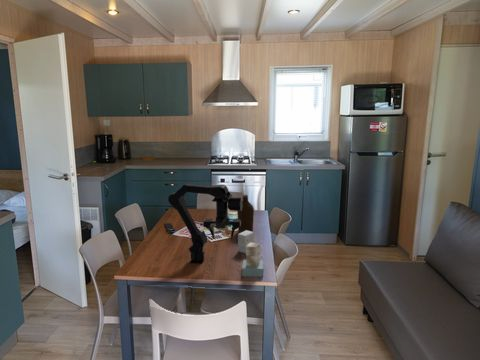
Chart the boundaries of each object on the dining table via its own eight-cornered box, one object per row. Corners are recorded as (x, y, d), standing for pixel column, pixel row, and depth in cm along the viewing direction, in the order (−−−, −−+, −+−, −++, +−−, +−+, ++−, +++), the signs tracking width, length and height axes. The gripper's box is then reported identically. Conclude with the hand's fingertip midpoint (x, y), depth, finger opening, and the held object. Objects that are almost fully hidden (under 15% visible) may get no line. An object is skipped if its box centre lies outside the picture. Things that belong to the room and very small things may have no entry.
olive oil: (244, 236, 216) (244, 198, 211) (234, 232, 224) (233, 195, 219) (257, 232, 222) (257, 195, 218) (246, 228, 231) (246, 192, 226)
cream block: (246, 265, 165) (246, 245, 163) (250, 261, 170) (250, 242, 168) (255, 267, 163) (255, 247, 161) (259, 263, 168) (259, 243, 166)
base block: (242, 276, 163) (242, 268, 162) (243, 267, 173) (243, 259, 172) (263, 276, 162) (263, 268, 161) (263, 267, 172) (263, 260, 171)
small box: (246, 247, 198) (246, 229, 196) (254, 249, 195) (254, 231, 193) (237, 251, 192) (237, 233, 190) (245, 253, 189) (245, 235, 187)
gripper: (200, 214, 165) (201, 244, 168) (239, 214, 164) (239, 245, 167) (204, 208, 176) (205, 236, 179) (240, 208, 175) (241, 237, 178)
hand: (222, 239), depth 175 cm, fingers open, 9 cm apart
